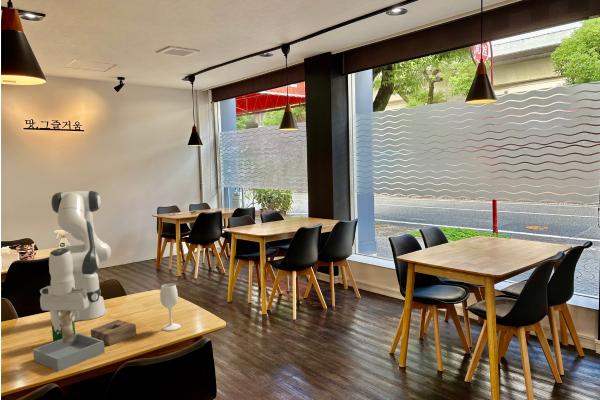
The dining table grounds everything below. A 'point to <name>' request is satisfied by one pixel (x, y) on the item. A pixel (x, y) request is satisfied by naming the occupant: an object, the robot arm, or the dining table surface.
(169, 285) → the wineglass
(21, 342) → the dining table surface
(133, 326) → the socket block
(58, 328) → the milk carton
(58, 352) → the tray
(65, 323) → the dowel
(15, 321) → the dining table surface
